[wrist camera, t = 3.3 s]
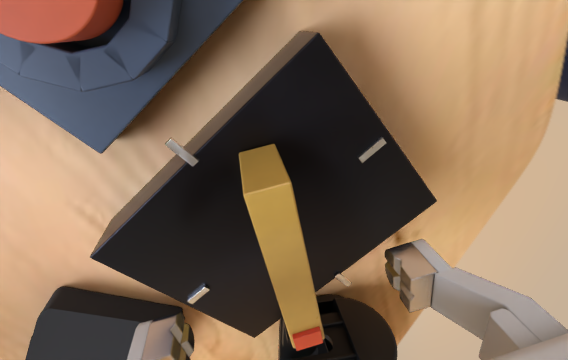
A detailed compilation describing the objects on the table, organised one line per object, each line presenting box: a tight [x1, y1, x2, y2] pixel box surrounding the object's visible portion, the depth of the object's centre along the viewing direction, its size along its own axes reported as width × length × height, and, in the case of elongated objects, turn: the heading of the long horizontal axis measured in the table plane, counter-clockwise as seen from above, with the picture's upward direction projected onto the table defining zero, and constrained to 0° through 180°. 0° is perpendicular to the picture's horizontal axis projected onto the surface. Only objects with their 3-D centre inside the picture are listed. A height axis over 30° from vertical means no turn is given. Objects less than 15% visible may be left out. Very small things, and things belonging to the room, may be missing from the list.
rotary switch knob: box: [239, 144, 325, 351], centre depth 13 cm, size 9×2×4 cm, turn 11°
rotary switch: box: [90, 31, 437, 338], centre depth 16 cm, size 14×13×3 cm
